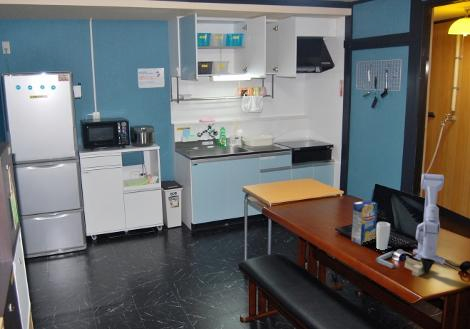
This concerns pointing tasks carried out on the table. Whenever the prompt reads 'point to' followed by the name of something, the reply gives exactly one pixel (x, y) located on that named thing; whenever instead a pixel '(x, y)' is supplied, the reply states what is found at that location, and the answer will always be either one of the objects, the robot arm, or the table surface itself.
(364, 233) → the beverage box
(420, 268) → the t block
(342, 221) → the table surface
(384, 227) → the drinking glass
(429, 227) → the robot arm
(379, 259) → the bracket
